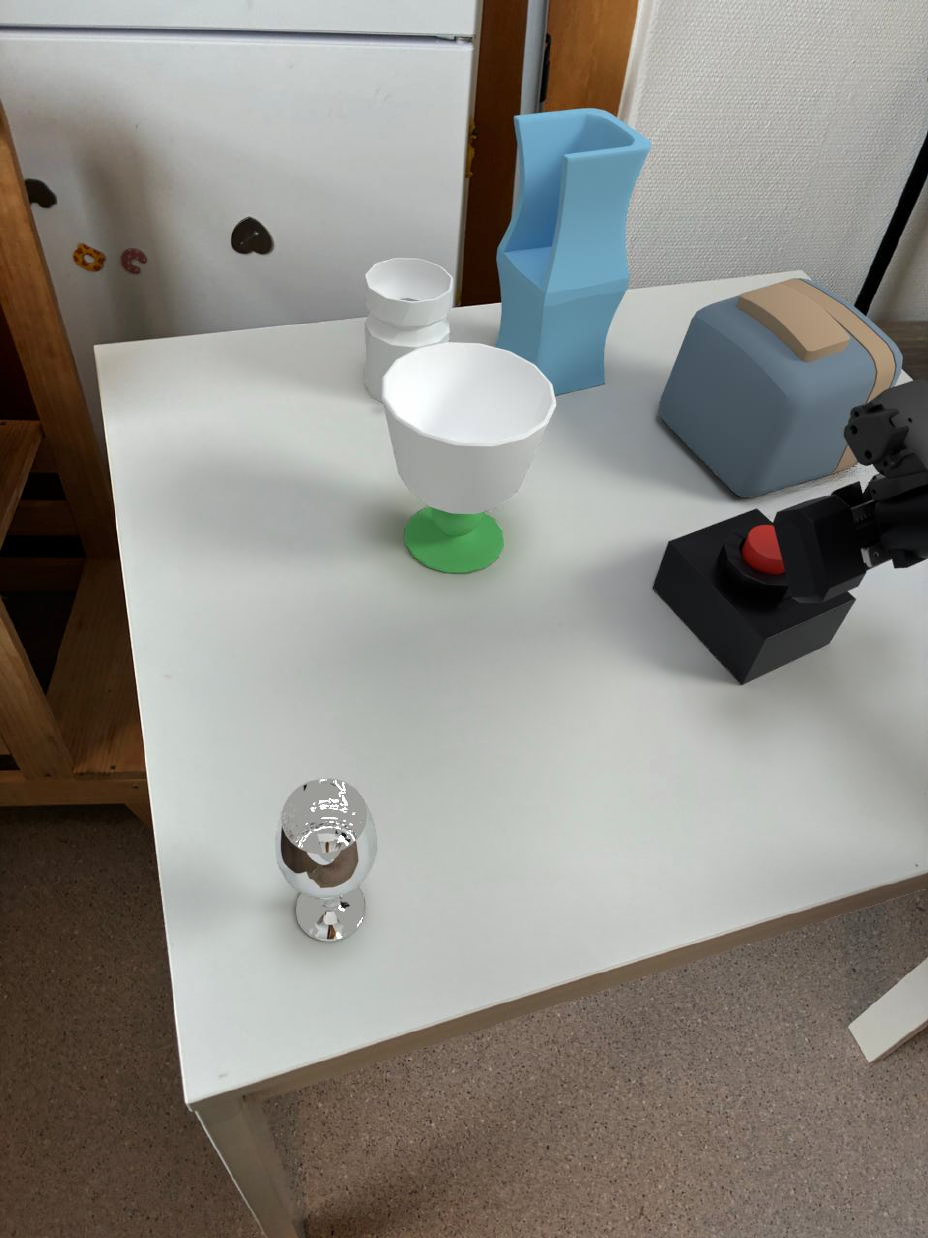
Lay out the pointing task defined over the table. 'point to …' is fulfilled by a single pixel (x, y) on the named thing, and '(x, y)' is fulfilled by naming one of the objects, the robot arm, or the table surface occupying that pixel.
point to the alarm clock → (776, 384)
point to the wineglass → (326, 855)
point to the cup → (463, 444)
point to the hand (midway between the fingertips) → (802, 528)
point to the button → (763, 550)
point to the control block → (742, 601)
